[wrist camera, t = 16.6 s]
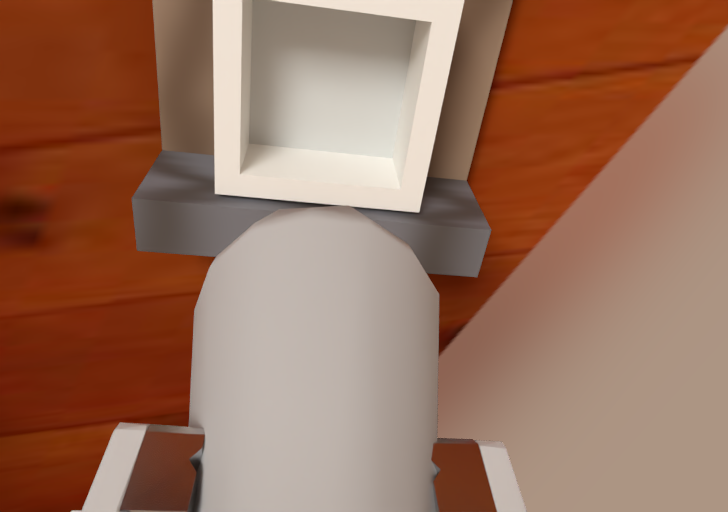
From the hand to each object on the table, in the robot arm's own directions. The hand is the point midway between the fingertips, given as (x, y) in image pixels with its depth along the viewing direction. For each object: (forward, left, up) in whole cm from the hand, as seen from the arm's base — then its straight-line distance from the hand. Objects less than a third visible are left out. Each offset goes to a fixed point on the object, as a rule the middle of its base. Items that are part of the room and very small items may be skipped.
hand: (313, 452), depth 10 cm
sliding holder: (0, +1, -24) cm, 24 cm away
